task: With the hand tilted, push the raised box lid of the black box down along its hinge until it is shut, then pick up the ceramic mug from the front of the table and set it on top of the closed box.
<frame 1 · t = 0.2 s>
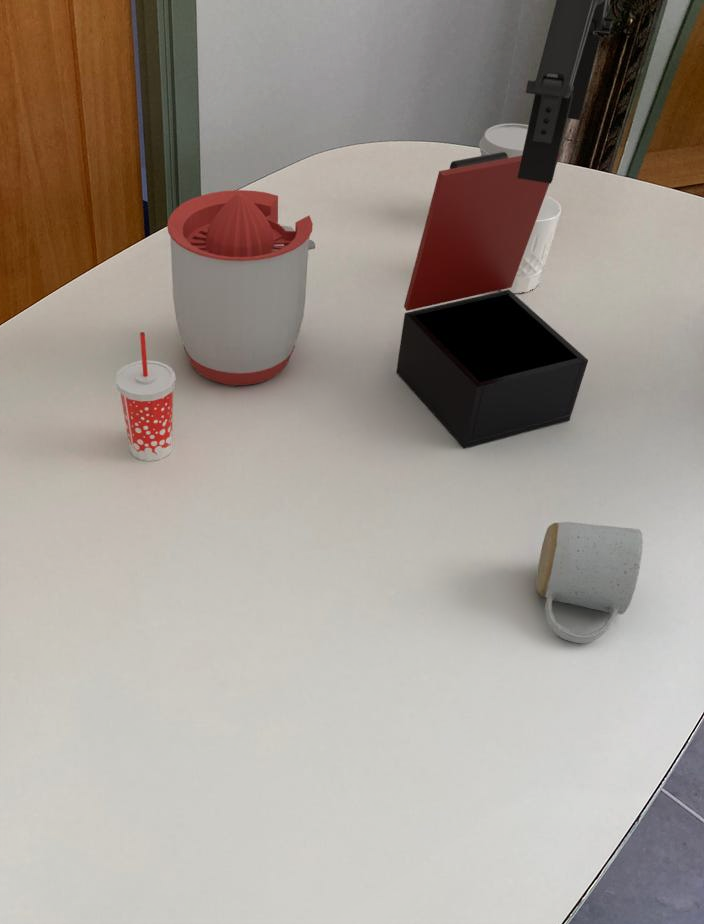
hand: (550, 146, 84), 31 cm above the table, tool pointing down, fingers open, 13 cm apart
disposable coffee cup: (498, 225, 141), on the table
box lid: (470, 223, 106), point 17 cm above the table, hinge at 80.0°
citrus juicer: (244, 359, 119), on the table
beverage cup: (151, 449, 108), on the table
black box: (480, 395, 114), on the table
white cup: (511, 282, 131), on the table
ceramic mug: (578, 605, 92), on the table
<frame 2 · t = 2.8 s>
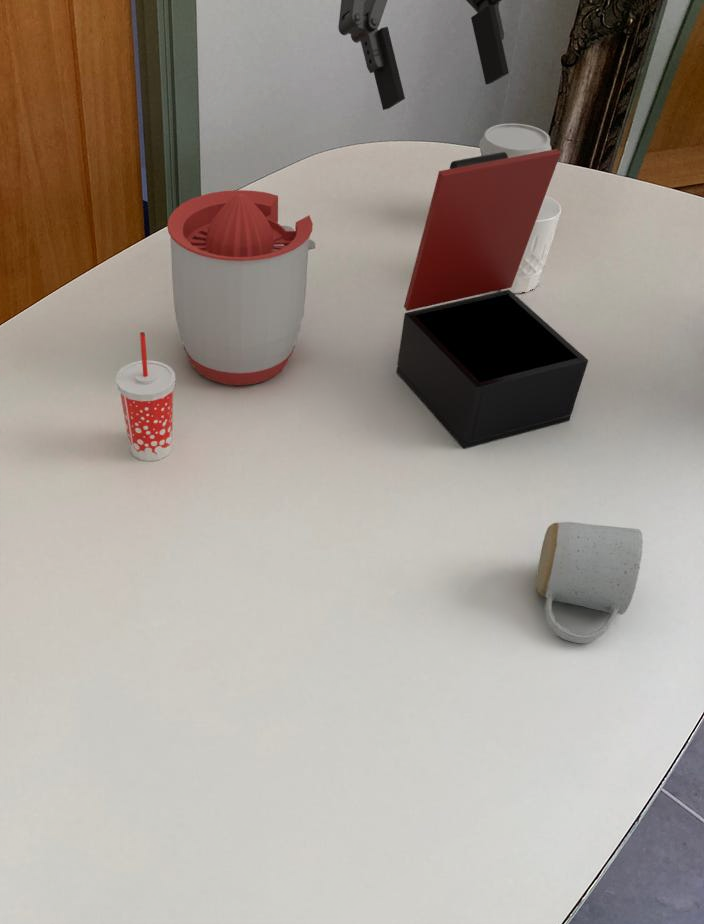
hand: (446, 91, 100), 28 cm above the table, tool tilted 35°, fingers open, 13 cm apart
nothing on the table moved.
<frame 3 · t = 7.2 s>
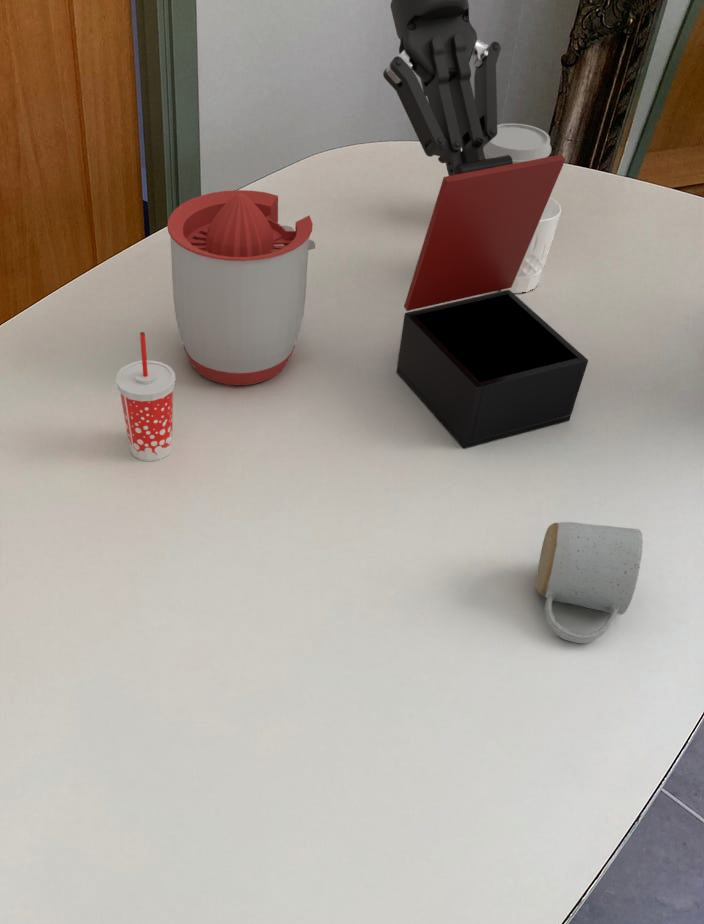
hand: (478, 215, 104), 18 cm above the table, tool tilted 45°, fingers closed
box lid: (472, 225, 106), point 17 cm above the table, hinge at 76.5°, touching gripper
everything else where it was.
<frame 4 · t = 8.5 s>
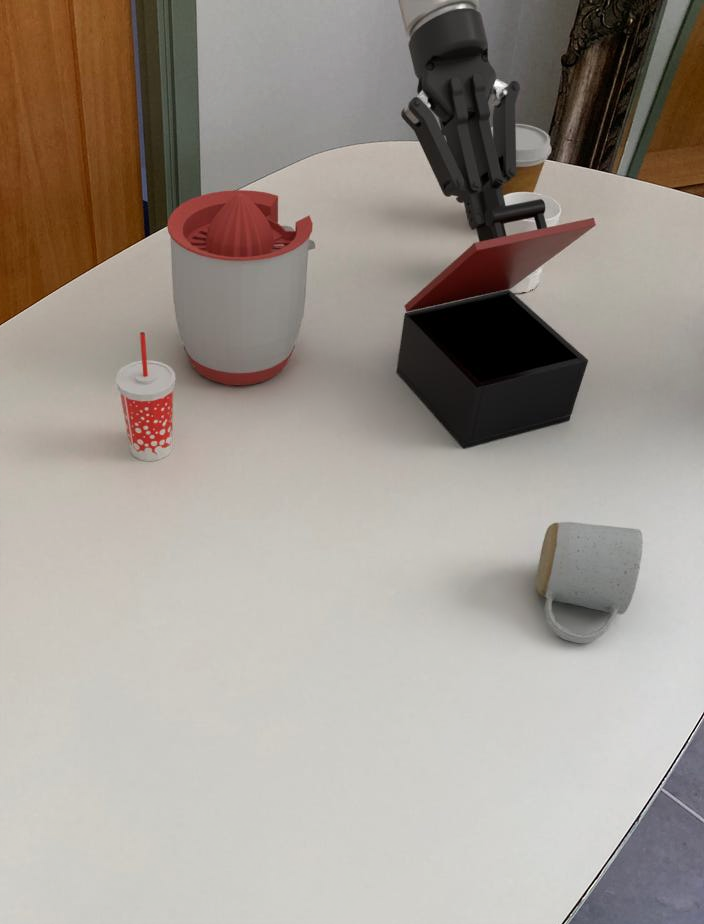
hand: (496, 256, 103), 16 cm above the table, tool tilted 45°, fingers closed
box lid: (489, 251, 104), point 16 cm above the table, hinge at 49.1°, touching gripper
everything else where it was.
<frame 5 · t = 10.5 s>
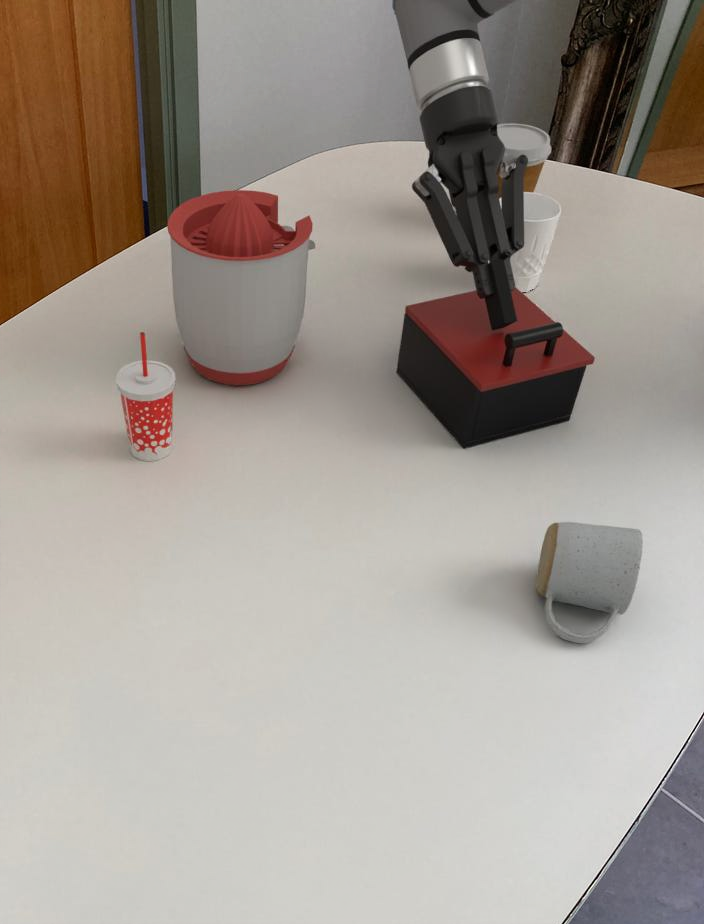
hand: (504, 325, 105), 10 cm above the table, tool tilted 45°, fingers closed
box lid: (500, 319, 106), point 10 cm above the table, hinge at -0.2°, touching gripper, black box
everything else where it was.
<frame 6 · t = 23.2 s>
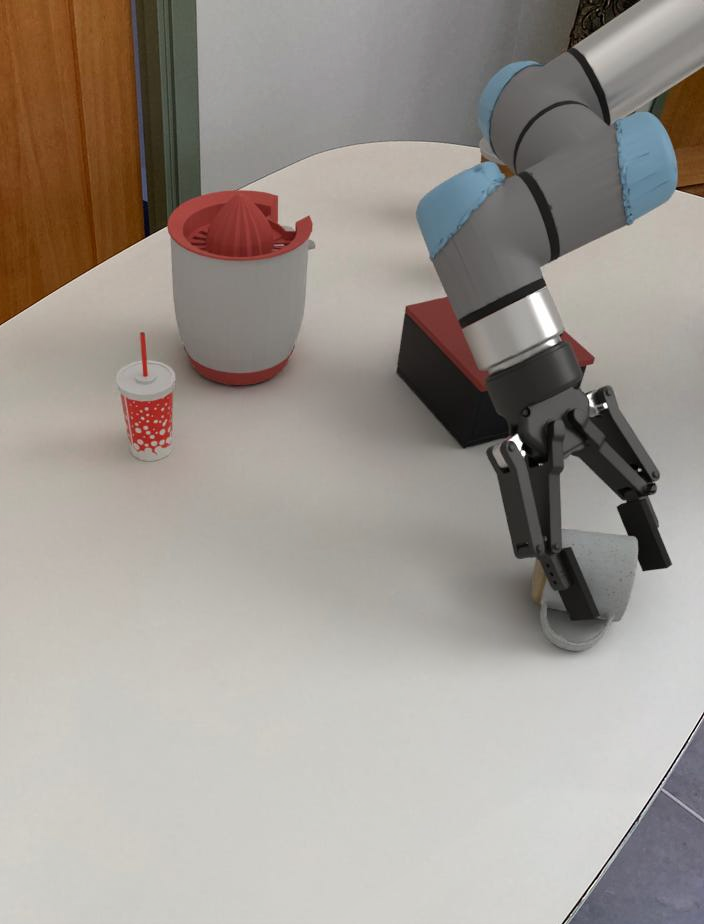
hand: (622, 592, 87), 4 cm above the table, tool tilted 45°, fingers open, 9 cm apart
box lid: (500, 319, 106), point 10 cm above the table, hinge at -0.2°, touching black box
ceramic mug: (574, 613, 92), on the table, touching gripper
everything else where it was.
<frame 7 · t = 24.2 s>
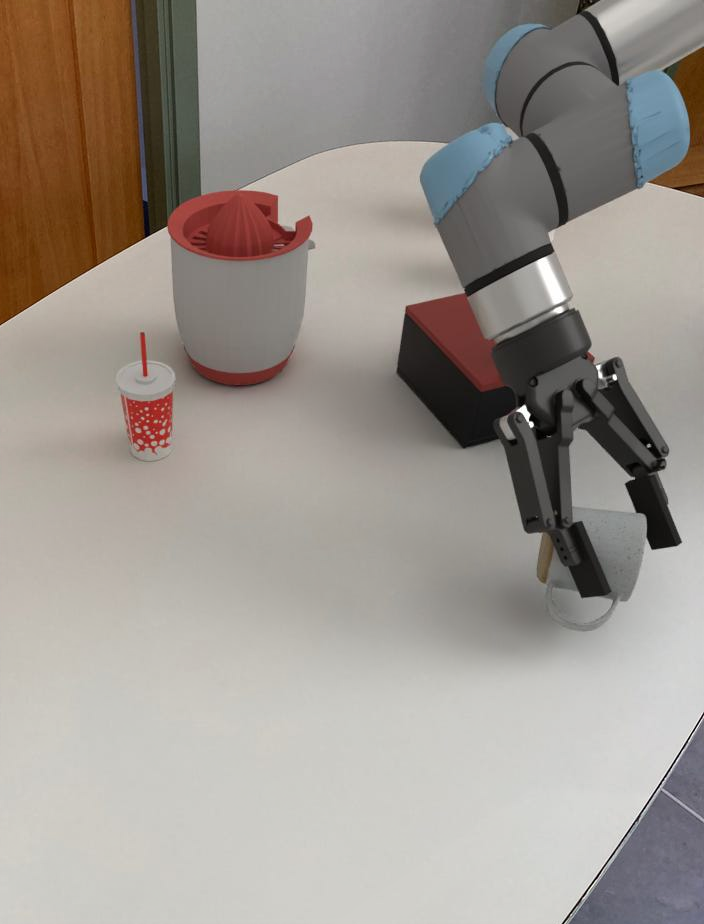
hand: (632, 569, 85), 7 cm above the table, tool tilted 45°, fingers closed on ceramic mug, 9 cm apart
ceramic mug: (580, 593, 89), point 3 cm above the table, touching gripper
everything else where it was.
when the fingers open (13 cm above the table, at t = 33.8 s): ceramic mug stays where it is, resting on box lid.
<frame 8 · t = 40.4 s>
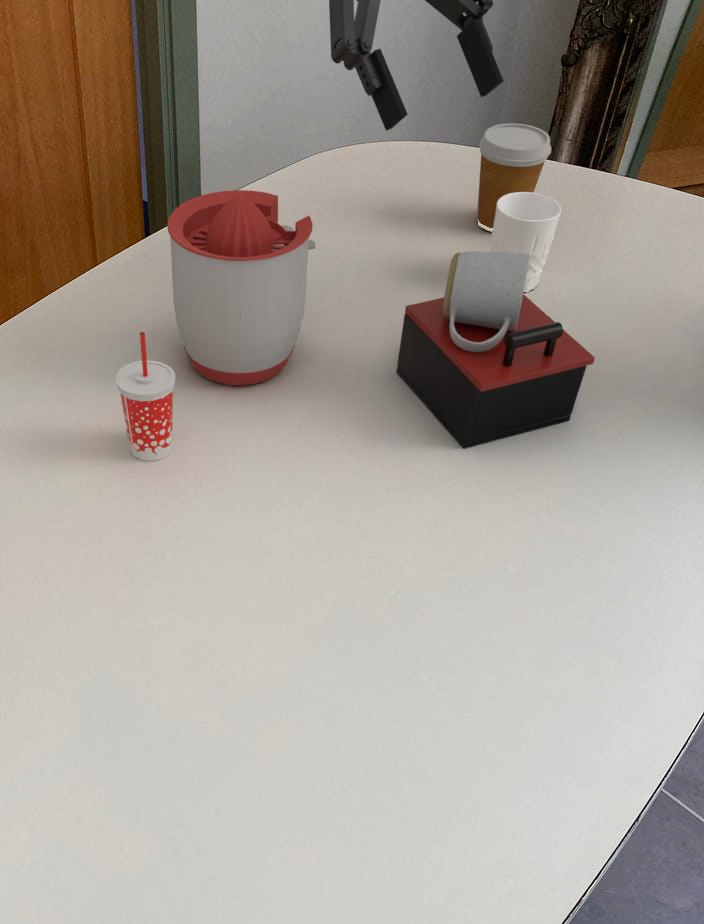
hand: (446, 106, 99), 28 cm above the table, tool tilted 45°, fingers open, 13 cm apart
box lid: (500, 319, 106), point 10 cm above the table, hinge at -0.2°, touching ceramic mug, black box
ceramic mug: (480, 329, 107), point 8 cm above the table, touching box lid
everything else where it was.
at the end: box lid at +0° (first picture: +80°); ceramic mug inside the target area on the black box (1.6 cm from its centre), point 8.4 cm above the black box's base; ceramic mug tilted 0° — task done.
